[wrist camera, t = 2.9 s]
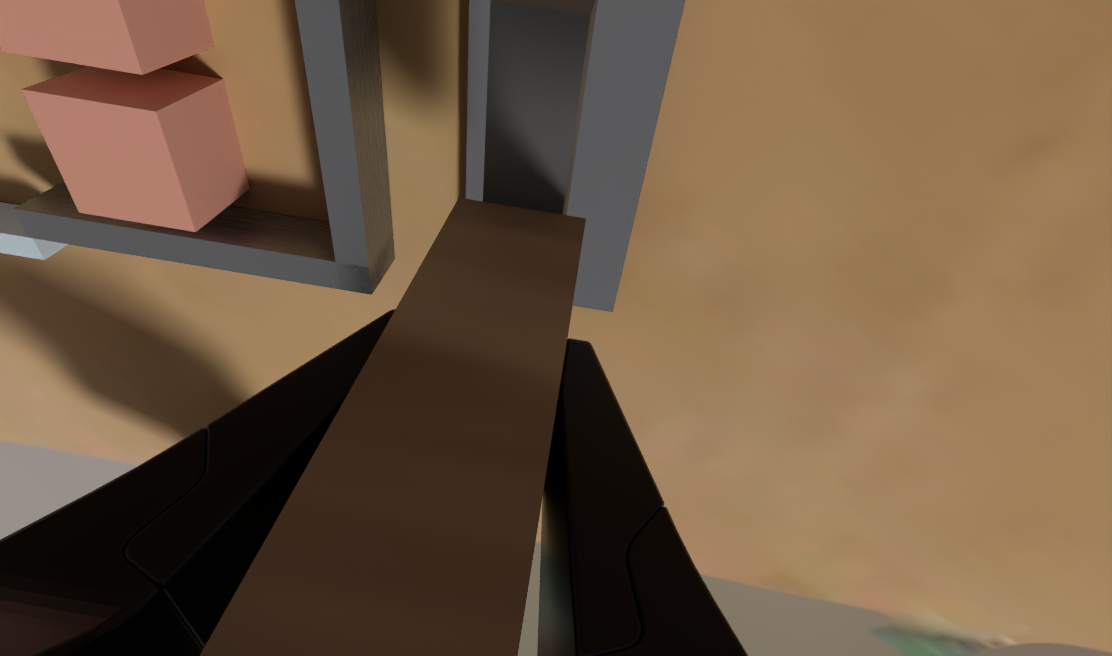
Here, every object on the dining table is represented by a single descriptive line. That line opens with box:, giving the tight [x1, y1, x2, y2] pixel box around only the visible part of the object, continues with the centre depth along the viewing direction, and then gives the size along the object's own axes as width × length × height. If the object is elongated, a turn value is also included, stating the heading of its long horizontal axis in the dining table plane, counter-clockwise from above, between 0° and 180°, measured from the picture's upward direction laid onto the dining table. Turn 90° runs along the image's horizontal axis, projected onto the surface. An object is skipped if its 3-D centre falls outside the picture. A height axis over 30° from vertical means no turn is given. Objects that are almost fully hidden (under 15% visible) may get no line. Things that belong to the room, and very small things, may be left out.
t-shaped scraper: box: [200, 0, 598, 656], centre depth 9 cm, size 9×2×11 cm, turn 173°
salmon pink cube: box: [21, 66, 250, 232], centre depth 19 cm, size 4×4×4 cm
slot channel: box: [13, 0, 395, 294], centre depth 17 cm, size 13×13×2 cm
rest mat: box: [466, 0, 685, 312], centre depth 18 cm, size 14×6×1 cm, turn 173°
